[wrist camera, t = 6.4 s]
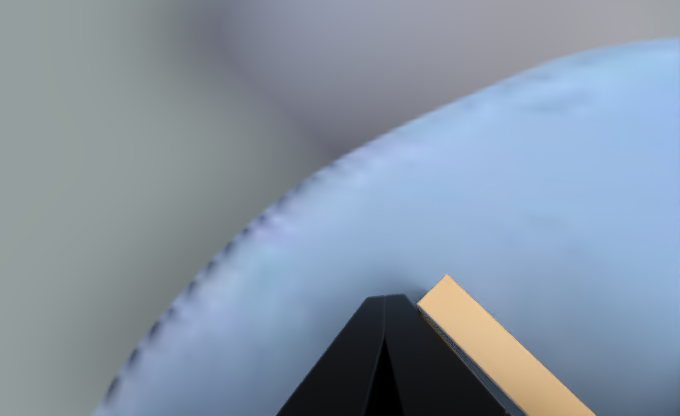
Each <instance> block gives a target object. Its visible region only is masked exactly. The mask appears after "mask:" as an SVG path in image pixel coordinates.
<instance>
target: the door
mask: <svg viewBox="0 0 680 416" xmlns="http://www.w3.org/2000/svg"><path fill="white" fill-rule="evenodd" d="M416 305H417V306H418V307H419V308H420V309H421V310H422V311H423V312H424V313H425V314H426V315H427V316H428V317H429V318H430V319H431V320H432V321H433V322H434V323H435V324H436V325H437V326H438V327H439V328H440V329H441V330H442V331H443V332H444V333H445V334H446V335H447V336H448V337H449V338H450V339H451V340H452V341H453V342H454V343H455V344H456V345H457V346H458V347H459V348H460V349H461V350H462V351H463V352H464V353H465V354H466V355H467V356H468V357H469V358H470V359H471V360H472V361H473V362H474V363H475V364H476V365H477V366H478V368H479V369H480V370H481V371H482V372H483V373H484V374H485V375H486V376H487V377H488V378H489V379H490V380H491V381H492V382H493V383H494V384H495V385H496V386H497V387H498V388H499V389H500V390H501V391H502V392H503V393H504V394H505V395H506V396H507V397H508V398H509V399H510V400H511V401H512V402H513V403H514V404H515V405H516V406H517V407H518V408H519V409H520V410H521V411H522V412H523V413H524V414H525V415H526V416H596V415H595V414H594V413H593V412H592V411H591V410H590V409H589V408H588V407H587V406H585V405H584V404H583V403H582V402H581V401H580V400H579V399H578V398H577V397H576V396H575V395H574V394H573V393H572V392H571V391H570V390H569V389H568V388H567V387H565V386H564V385H563V384H562V383H561V382H560V381H559V380H558V379H557V378H556V377H555V376H554V375H553V374H552V373H551V372H550V371H549V370H548V369H547V368H545V367H544V366H543V365H542V364H541V363H540V362H539V361H538V360H537V359H536V358H535V357H534V356H533V355H532V354H531V353H530V352H529V351H528V350H526V349H525V348H524V347H523V346H522V345H521V344H520V343H519V342H518V341H517V340H516V339H515V338H514V337H513V336H512V335H511V334H510V333H509V332H508V331H506V330H505V329H504V328H503V327H502V326H501V325H500V324H499V323H498V322H497V321H496V320H495V319H494V318H493V317H492V316H491V315H490V314H489V313H488V312H486V311H485V310H484V309H483V308H482V307H481V306H480V305H479V304H478V303H477V302H476V301H475V300H474V299H473V298H472V297H471V296H470V295H469V294H468V293H466V292H465V291H464V290H463V289H462V288H461V287H460V286H459V285H458V284H457V283H456V282H455V281H454V280H453V279H452V278H451V277H450V276H449V275H447V274H446V275H445V276H444V277H443V278H442V279H441V280H440V281H439V282H438V283H437V284H436V285H435V286H434V287H433V288H432V289H431V290H430V291H429V292H428V293H427V294H426V295H425V296H424V297H423V298H422V299H421V300H420V301H419V302H418V303H417V304H416Z"/></svg>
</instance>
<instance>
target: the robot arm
mask: <svg viewBox="0 0 680 416" xmlns="http://www.w3.org/2000/svg"><path fill="white" fill-rule="evenodd" d="M276 416H513V415H512V414H511V413H510V412H507V409H506V408H505V407H504V406H503V404H502V403H501V402H500V401H499V400H498V399H497V398H496V397H495V395H494V394H493V393H492V392H491V391H490V390H489V389H488V387H487V386H486V385H485V384H484V383H483V382H482V381H481V380H480V378H479V377H478V376H477V375H476V374H475V373H474V372H473V371H472V369H471V368H470V367H469V366H468V365H467V364H466V363H465V362H464V360H463V359H462V358H461V357H460V356H459V355H458V354H457V352H456V351H455V350H454V349H453V348H452V347H451V346H450V345H449V343H448V342H447V341H446V340H445V339H444V338H443V337H442V336H441V334H440V333H439V332H438V331H437V330H436V329H435V328H434V326H433V325H432V324H431V323H430V322H429V321H428V320H427V319H426V317H425V316H424V315H423V314H422V313H421V312H420V311H419V310H418V308H417V307H416V306H415V305H414V304H413V303H412V302H411V300H410V299H409V298H408V297H407V296H406V295H405V294H392V295H386V296H384V295H383V296H373V297H368V298H366V299H365V300H364V302H363V303H362V304H361V306H360V307H359V308H358V309H357V311H356V312H355V313H354V315H353V316H352V317H351V319H350V320H349V321H348V322H347V324H346V325H345V326H344V328H343V329H342V330H341V332H340V333H339V334H338V335H337V337H336V338H335V339H334V341H333V342H332V343H331V345H330V346H329V347H328V348H327V350H326V351H325V352H324V354H323V355H322V356H321V357H320V359H319V360H318V361H317V363H316V364H315V365H314V367H313V368H312V369H311V370H310V372H309V373H308V374H307V376H306V377H305V378H304V380H303V381H302V382H301V383H300V385H299V386H298V387H297V389H296V390H295V391H294V393H293V394H292V395H291V396H290V398H289V399H288V400H287V402H286V403H285V404H284V406H283V407H282V408H281V409H280V411H279V412H278V413H277V415H276Z"/></svg>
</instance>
